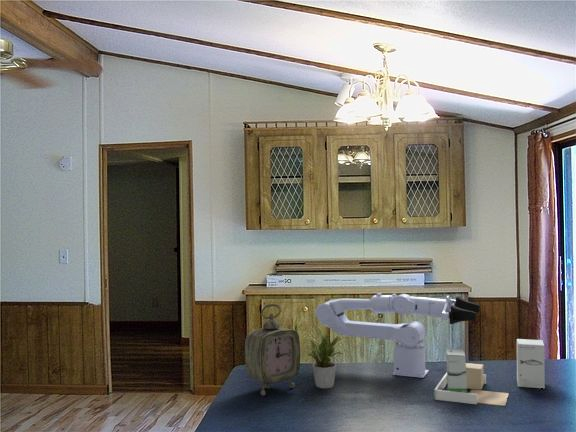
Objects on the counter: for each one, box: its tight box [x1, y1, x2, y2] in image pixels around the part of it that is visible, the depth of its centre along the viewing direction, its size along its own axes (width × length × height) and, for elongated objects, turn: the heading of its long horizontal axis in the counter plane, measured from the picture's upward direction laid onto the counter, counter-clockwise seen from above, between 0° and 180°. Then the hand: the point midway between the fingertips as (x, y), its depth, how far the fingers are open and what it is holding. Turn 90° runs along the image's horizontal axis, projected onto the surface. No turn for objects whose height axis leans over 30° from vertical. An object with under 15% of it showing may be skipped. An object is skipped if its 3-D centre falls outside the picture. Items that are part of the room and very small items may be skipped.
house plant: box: [304, 330, 348, 389], centre depth 178 cm, size 14×14×16 cm
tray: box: [433, 371, 487, 405], centre depth 172 cm, size 11×20×3 cm, turn 155°
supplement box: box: [516, 338, 546, 390], centre depth 177 cm, size 7×7×13 cm
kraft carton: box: [466, 362, 485, 391], centre depth 176 cm, size 5×5×6 cm
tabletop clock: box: [244, 303, 301, 397], centre depth 176 cm, size 14×9×25 cm, turn 130°
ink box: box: [445, 348, 468, 393], centre depth 169 cm, size 9×5×12 cm, turn 168°
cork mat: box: [469, 389, 510, 407], centre depth 165 cm, size 10×11×1 cm
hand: (477, 312), depth 181 cm, fingers open, 7 cm apart
